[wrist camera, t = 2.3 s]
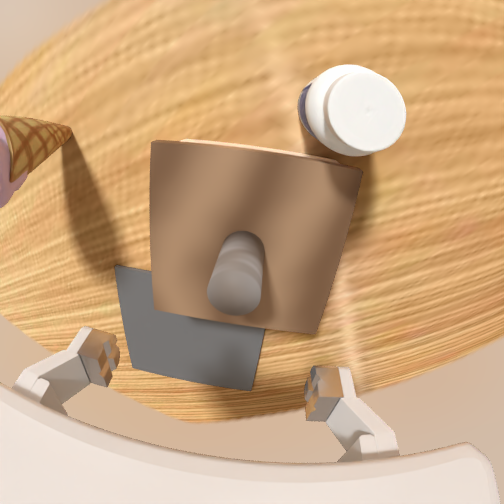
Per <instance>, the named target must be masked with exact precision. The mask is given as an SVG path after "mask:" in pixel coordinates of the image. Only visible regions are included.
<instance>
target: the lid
mask: <svg viewBox="0 0 504 504" xmlns="http://www.w3.org/2000/svg"><path fill="white" fill-rule="evenodd" d="M362 174H363V171H362V170H361V169H359V168H357V167H352V166H348V165H343V164H338V163H333V162H328V161H323V160H318V159H313V158H307V157H302V156H296V155H290V154H284V153H278V152H271V151H264V150H257V149H250V148H242V147H234V146H225V145H215V144H205V143H194V142H181V141H166V140H156V141H153V142H151V158H150V250H151V271H152V287H153V301H154V310H159V311H164V312H169V313H174V314H179V315H185V316H190V317H196V318H201V319H207V320H213V321H219V322H225V323H231V324H238V325H245V326H252V327H259V328H266V329H274V330H281V331H290V332H298V333H307V334H316V332H317V329H318V326H319V323H320V320H321V317H322V315H323V312H324V309H325V306H326V303H327V300H328V297H329V294H330V290H331V287H332V284H333V281H334V278H335V275H336V271H337V268H338V265H339V261H340V258H341V255H342V251H343V248H344V244H345V241H346V237H347V233H348V230H349V226H350V222H351V219H352V215H353V211H354V207H355V203H356V199H357V195H358V191H359V187H360V183H361V178H362Z"/></svg>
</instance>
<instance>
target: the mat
mask: <svg viewBox="0 0 504 504" xmlns="http://www.w3.org/2000/svg"><path fill="white" fill-rule="evenodd" d="M115 275H116V282H117V289H118V296H119V302H120V308H121V314H122V319H123V325H124V330H125V335H126V340H127V345H128V350H129V354H130V359H131V363H132V367H133V368H135V369H139V370H143V371H147V372H151V373H155V374H159V375H163V376H168V377H172V378H177V379H182V380H186V381H191V382H197V383H202V384H207V385H213V386H219V387H225V388H232V389H238V390H246V391H251V390H252V385H253V381H254V376H255V372H256V368H257V363H258V359H259V354H260V350H261V345H262V340H263V336H264V331H265V328H259V327H252V326H245V325H238V324H231V323H225V322H219V321H213V320H207V319H201V318H196V317H190V316H185V315H179V314H174V313H169V312H164V311H159V310H154V301H153V287H152V271H147V270H141V269H136V268H130V267H125V266H120V265H116V266H115Z"/></svg>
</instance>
